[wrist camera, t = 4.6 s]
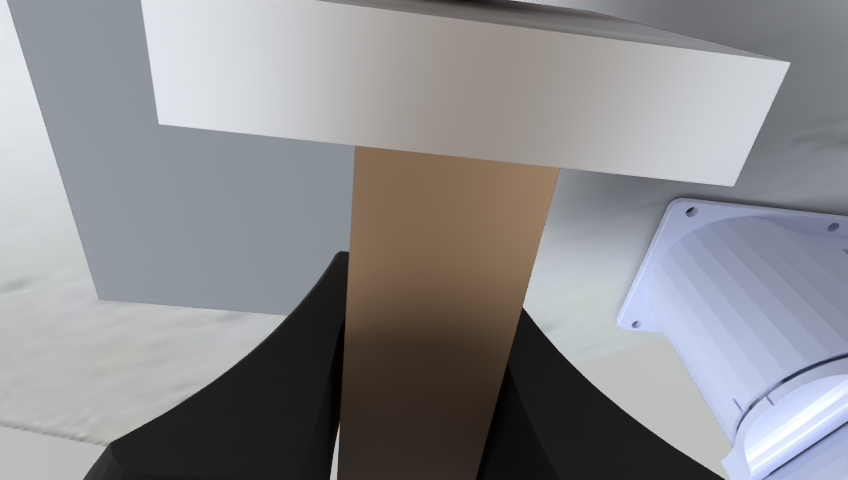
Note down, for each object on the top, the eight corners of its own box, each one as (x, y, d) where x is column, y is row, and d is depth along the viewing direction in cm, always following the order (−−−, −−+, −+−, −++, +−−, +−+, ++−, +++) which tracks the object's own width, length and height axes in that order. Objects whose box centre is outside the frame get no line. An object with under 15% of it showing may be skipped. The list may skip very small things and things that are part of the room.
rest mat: (405, -14, 18) (405, -12, 17) (374, 315, 27) (373, 322, 26) (-2, -70, 17) (-15, -70, 16) (105, 292, 25) (99, 299, 25)
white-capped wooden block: (591, 11, 12) (791, 62, 5) (497, 371, 17) (544, 596, 11) (290, -30, 11) (137, -24, 5) (294, 355, 17) (225, 583, 10)
